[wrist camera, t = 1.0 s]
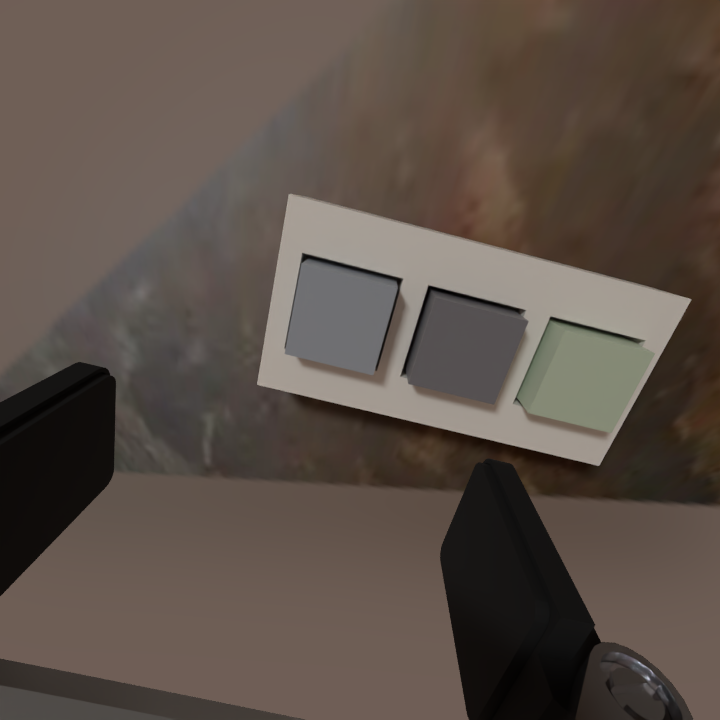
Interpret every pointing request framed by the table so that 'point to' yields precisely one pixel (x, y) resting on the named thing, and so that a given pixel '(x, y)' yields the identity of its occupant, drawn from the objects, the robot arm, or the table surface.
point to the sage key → (582, 375)
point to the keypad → (465, 277)
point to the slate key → (340, 315)
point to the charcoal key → (463, 345)
